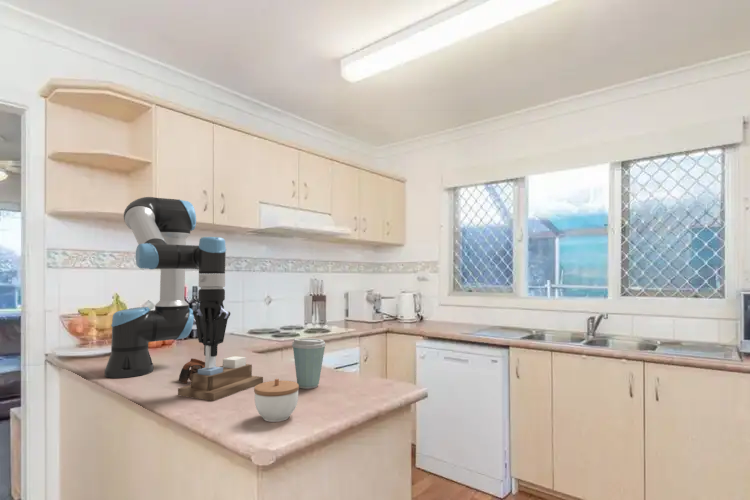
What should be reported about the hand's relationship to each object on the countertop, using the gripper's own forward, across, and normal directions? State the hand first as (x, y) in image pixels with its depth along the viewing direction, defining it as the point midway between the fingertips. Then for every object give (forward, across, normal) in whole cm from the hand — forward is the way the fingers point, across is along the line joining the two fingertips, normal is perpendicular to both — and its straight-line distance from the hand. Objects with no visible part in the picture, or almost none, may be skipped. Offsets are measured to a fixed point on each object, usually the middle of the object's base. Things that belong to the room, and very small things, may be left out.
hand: (210, 367), depth 126 cm
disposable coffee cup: (+8, +23, +18) cm, 30 cm away
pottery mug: (+8, -16, +9) cm, 20 cm away
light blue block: (+4, 0, 0) cm, 4 cm away
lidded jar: (+8, +32, -10) cm, 34 cm away
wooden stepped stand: (+8, 0, +5) cm, 9 cm away
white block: (+3, 0, +10) cm, 11 cm away
